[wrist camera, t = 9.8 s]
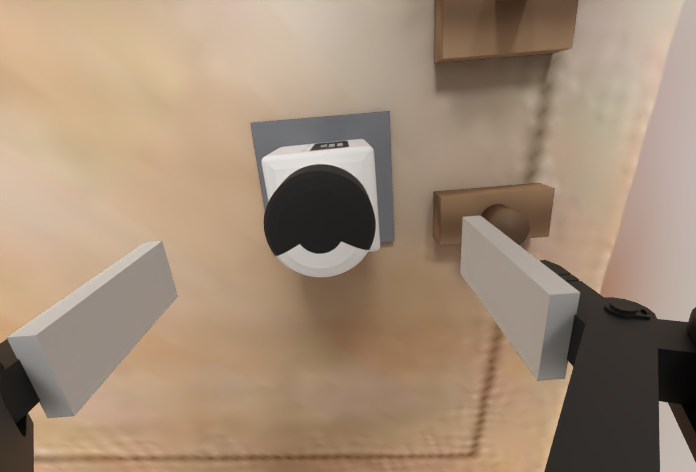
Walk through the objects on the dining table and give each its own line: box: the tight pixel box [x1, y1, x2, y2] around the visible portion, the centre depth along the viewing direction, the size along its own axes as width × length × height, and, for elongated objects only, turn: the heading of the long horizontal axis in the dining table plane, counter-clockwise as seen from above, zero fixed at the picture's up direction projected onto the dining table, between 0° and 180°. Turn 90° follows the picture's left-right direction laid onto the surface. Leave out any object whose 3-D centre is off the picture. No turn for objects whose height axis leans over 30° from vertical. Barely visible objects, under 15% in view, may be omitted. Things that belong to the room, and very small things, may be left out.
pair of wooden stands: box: [433, 0, 578, 245], centre depth 26 cm, size 23×10×8 cm, turn 4°
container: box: [262, 139, 380, 277], centre depth 25 cm, size 8×8×13 cm
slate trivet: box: [251, 111, 394, 243], centre depth 32 cm, size 12×12×1 cm
